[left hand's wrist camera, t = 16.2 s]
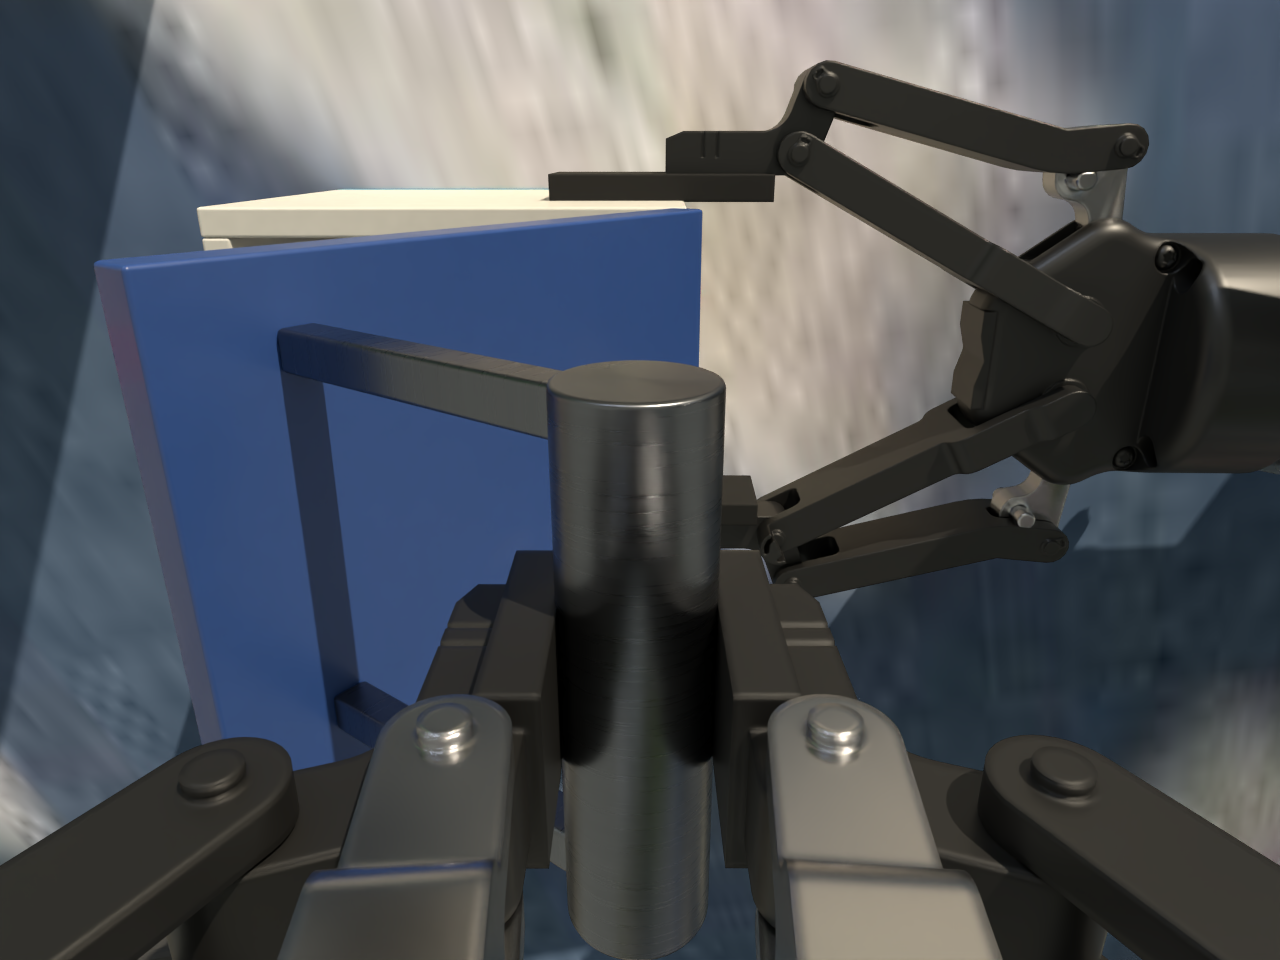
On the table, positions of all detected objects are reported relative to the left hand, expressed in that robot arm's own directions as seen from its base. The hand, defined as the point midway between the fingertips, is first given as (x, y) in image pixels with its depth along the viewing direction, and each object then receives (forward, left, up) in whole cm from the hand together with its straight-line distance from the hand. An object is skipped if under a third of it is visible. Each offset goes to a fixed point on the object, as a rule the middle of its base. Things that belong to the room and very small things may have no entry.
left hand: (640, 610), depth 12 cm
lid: (+3, -2, -7) cm, 7 cm away
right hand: (+2, -2, -17) cm, 17 cm away
